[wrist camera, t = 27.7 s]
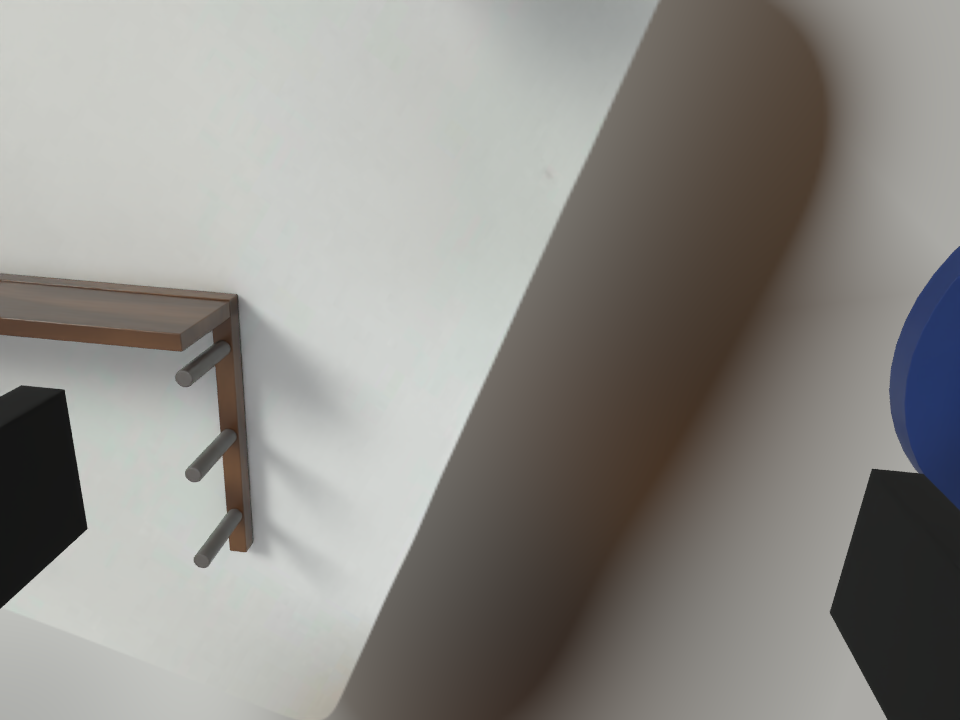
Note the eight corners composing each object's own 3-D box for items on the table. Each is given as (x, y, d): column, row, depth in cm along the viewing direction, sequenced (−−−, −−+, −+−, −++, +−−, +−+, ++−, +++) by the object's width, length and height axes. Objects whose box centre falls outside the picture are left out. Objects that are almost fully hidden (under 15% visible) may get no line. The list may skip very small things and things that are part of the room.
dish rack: (253, 542, 49) (207, 613, 42) (-61, 508, 50) (-154, 572, 43) (237, 294, 42) (180, 332, 36) (-124, 262, 44) (-245, 293, 37)
